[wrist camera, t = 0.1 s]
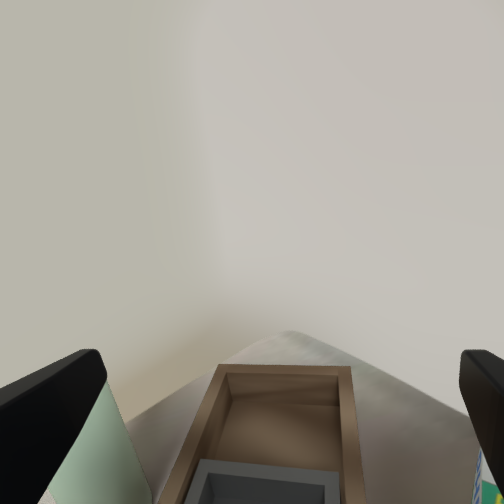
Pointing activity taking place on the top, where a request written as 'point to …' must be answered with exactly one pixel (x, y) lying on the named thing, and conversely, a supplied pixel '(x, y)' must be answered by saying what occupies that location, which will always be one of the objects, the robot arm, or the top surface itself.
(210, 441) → the dock
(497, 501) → the light bulb box
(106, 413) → the pale green cylinder
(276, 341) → the top surface
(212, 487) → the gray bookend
